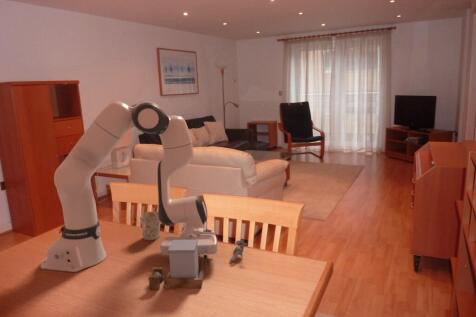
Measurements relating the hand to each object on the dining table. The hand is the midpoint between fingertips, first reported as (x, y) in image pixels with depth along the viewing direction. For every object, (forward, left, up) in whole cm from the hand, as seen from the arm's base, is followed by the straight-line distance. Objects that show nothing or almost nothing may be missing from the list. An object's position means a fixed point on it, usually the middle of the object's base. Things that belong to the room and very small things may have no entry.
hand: (186, 256), depth 120 cm
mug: (-20, +27, -7) cm, 34 cm away
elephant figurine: (+18, +11, -7) cm, 22 cm away
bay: (-2, 0, -6) cm, 7 cm away
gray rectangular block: (0, -4, -6) cm, 7 cm away
